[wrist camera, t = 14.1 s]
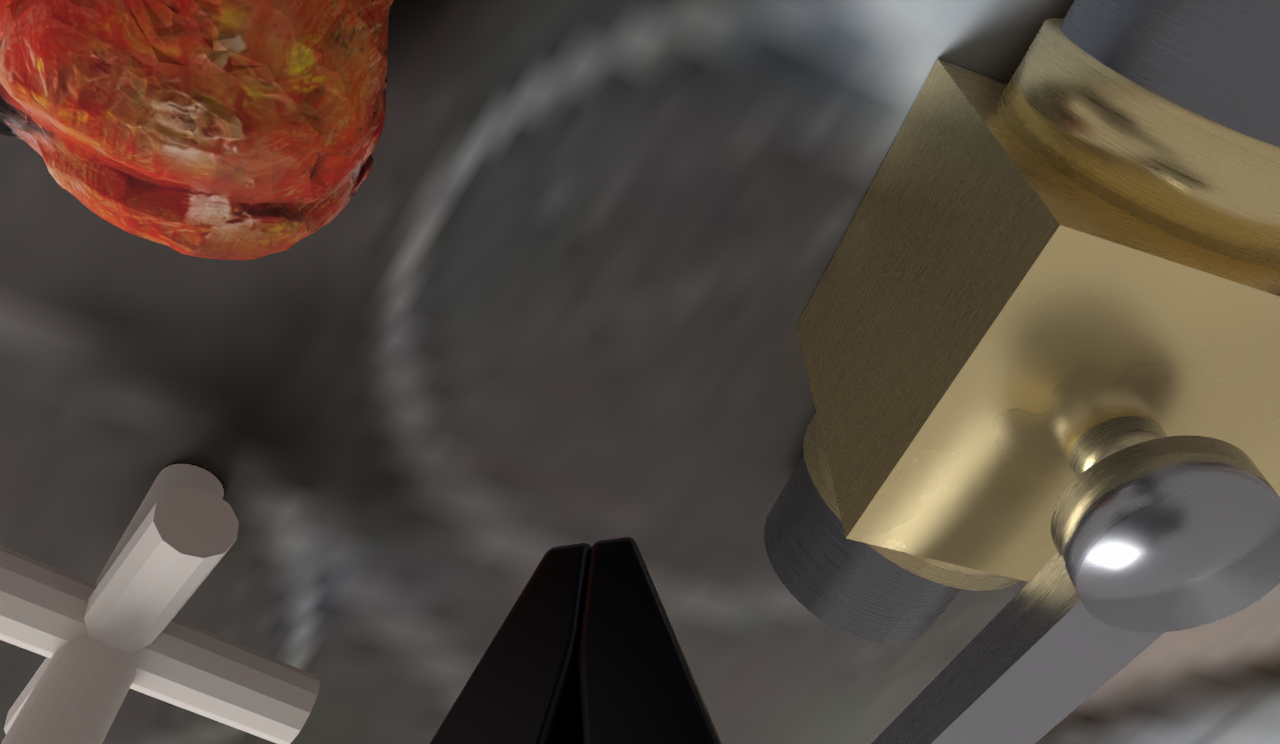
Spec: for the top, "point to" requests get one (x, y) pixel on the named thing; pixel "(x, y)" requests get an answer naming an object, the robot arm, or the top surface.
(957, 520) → the valve
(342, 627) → the top surface
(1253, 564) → the lever
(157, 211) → the pomegranate
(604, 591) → the robot arm
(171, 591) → the pipe connector
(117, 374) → the top surface
